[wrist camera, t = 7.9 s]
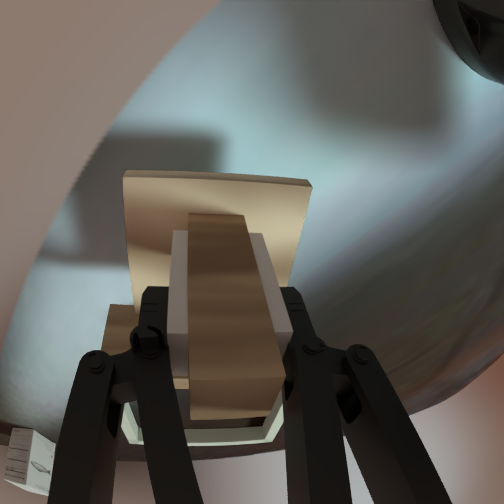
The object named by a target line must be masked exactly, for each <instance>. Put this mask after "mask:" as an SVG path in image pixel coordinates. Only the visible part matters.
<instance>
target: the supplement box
mask: <svg viewBox="0 0 504 504" xmlns="http://www.w3.org/2000/svg"><path fill="white" fill-rule="evenodd" d="M54 452H55V443H53V442H51V441H50V440H48V439H47V438H45V437H44V436H42V435H41V434H39V433H38V432H37V431H36V430H34V429H25V428H13V429H12V433H11V438H10V443H9V449H8V454H7V460H6V466H5V473H4V480H6V481H8V482H10V483H12V484H14V485H16V486H18V487H20V488H22V489H24V490H27V491H29V492H33V493H38V494H43V495H47V496H48V495H49V489H50V482H51V476H52V468H53V459H54Z"/></svg>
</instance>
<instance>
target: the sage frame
mask: <svg viewBox="0 0 504 504" xmlns="http://www.w3.org/2000/svg"><path fill="white" fill-rule="evenodd" d="M283 421H284V419H283V403H282V388H281V390H280V392H279V394H278V396H277V399H276V401H275V403H274V406H273V408H272V410H271V412H270V415H269V416H266V419H265V421H264V423H263V426H258V427H244V428H223V429H184V432H185V436H186V440H187V445H188V446H215V445H237V444H252V443H264V442H272V441H273V439H274V437H275V436H276V434H277V432H278V430H279V429H280V427H281V425H282V423H283ZM121 427H122V429H123V431H124V433H125V435H126V437H127V439H128V441H129V443H131V444H144V443H143V437H142V430H141V427H138V426H137V424H136V421H135V419H134V416H133V413H132V411H131V408H130V405H129V403H125V406H124V412H123V418H122V424H121Z"/></svg>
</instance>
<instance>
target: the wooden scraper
mask: <svg viewBox="0 0 504 504" xmlns="http://www.w3.org/2000/svg"><path fill="white" fill-rule="evenodd" d="M311 191H312V186H311V184H310V183H309V181H308V180H306V179H296V178H285V177H274V176H261V175H248V174H232V173H215V172H194V171H163V170H126V171H125V173H124V175H123V199H124V215H125V229H126V241H127V251H128V261H129V270H130V278H131V286H132V294H133V301H134V305H118V304H110V307H109V312H108V317H107V321H106V326H105V331H104V336H103V342H102V347H101V351H104V352H106V353H108V354H109V355H110V356H112V355H116V354H120V353H123V352H126V351H127V350H129V349H130V348H131V344H130V339H129V338H130V333H131V331H132V330H133V329H134V328H135V327H137V326H138V321H139V313H140V306H141V298H142V293H143V292H144V291H145V289H146V288H147V286H169V279H170V264H171V251H172V239H173V230H188V262H187V299H188V376H173V375H172V376H173V381H174V386H175V389H189V398H190V415H191V420H210V419H234V418H250V417H262V416H269V415H270V412H271V410H272V408H273V406H274V403H275V401H276V399H277V396H278V394H279V392H280V389H281V387H282V385H283V382H284V380H285V378H286V374H285V370H284V366H283V362H282V358H281V354H280V351H279V347H278V343H277V339H276V335H275V332H274V328H273V324H272V320H271V316H270V312H269V309H268V305H267V301H266V297H265V293H264V290H263V286H262V282H261V278H260V274H259V271H258V267H257V263H256V259H255V255H254V252H253V248H252V244H251V240H250V236H249V233H262V234H263V238H264V241H265V244H266V247H267V250H268V253H269V256H270V259H271V262H272V265H273V269H274V272H275V275H276V278H277V281H278V284H279V287H287V284H288V280H289V276H290V273H291V269H292V265H293V262H294V258H295V254H296V250H297V246H298V243H299V239H300V235H301V231H302V227H303V223H304V219H305V215H306V212H307V208H308V204H309V200H310V195H311Z"/></svg>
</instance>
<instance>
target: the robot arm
mask: <svg viewBox="0 0 504 504" xmlns="http://www.w3.org/2000/svg"><path fill="white" fill-rule="evenodd" d="M433 1H434V4H435V8H436V11H437V13H438V16H439V19H440V21H441V24H442V26H443V28H444V30H445V32H446V34H447V36H448V38H449V40H450V41H451V43H452V45H453V46H454V48H455V49H456V51H457V52H458V54H459V55H460V56H461V57H462V59H463V60H464V61H465V62H466V63H467V64H468V65H469V66H470V67H471V68H472V69H473V70H474V71H475V72H477V73H478V74H480V75H481V76H483V77H484V78H486V79H489V80H491V81H494V82H497V83H500V84H503V85H504V0H433ZM249 236H250V240H251V244H252V248H253V252H254V255H255V259H256V263H257V267H258V271H259V274H260V278H261V282H262V286H263V290H264V293H265V297H266V301H267V305H268V309H269V312H270V316H271V320H272V324H273V328H274V332H275V335H276V339H277V343H278V347H279V351H280V354H281V358H282V362H283V366H284V370H285V374H286V378H285V380H284V382H283V385H282V387H281V388H282V403H283V419H284V436H285V452H286V472H287V491H288V504H352V498H351V489H350V482H349V474H348V467H347V461H346V453H345V447H344V440H343V434H342V429H343V432H344V434H345V436H346V438H347V441H348V443H349V445H350V448H351V450H352V452H353V455H354V457H355V459H356V462H357V464H358V466H359V469H360V471H361V474H362V476H363V478H364V481H365V483H366V485H367V488H368V490H369V492H370V495H371V497H372V500H373V502H374V504H452V502H451V500H450V498H449V496H448V494H447V492H446V489H445V488H444V485H443V483H442V481H441V479H440V477H439V475H438V473H437V471H436V469H435V467H434V465H433V463H432V461H431V459H430V457H429V455H428V453H427V451H426V449H425V447H424V445H423V443H422V441H421V439H420V437H419V435H418V433H417V431H416V429H415V427H414V426H413V424H412V422H411V420H410V418H409V416H408V414H407V412H406V410H405V409H404V407H403V405H402V403H401V401H400V399H399V397H398V396H397V394H396V392H395V390H394V388H393V386H392V385H391V383H390V381H389V379H388V377H387V376H386V374H385V372H384V370H383V369H382V367H381V365H380V363H379V361H378V360H377V358H376V356H375V354H374V353H373V352H372V351H371V349H369V348H368V347H366V346H364V345H361V344H354V345H352V346H350V347H349V348H348V349H347V351H345V350H340V349H335V348H331V347H328V346H326V344H325V343H324V342H323V341H322V340H321V339H320V338H318V337H317V336H316V334H315V331H314V328H313V326H312V323H311V320H310V317H309V315H308V312H307V311H306V310H307V309H306V307H305V304H304V301H303V299H302V296H301V294H300V293H299V292H298V291H297V290H296V289H295V288H294V287H279V284H278V281H277V278H276V275H275V272H274V269H273V265H272V262H271V259H270V256H269V253H268V250H267V247H266V244H265V241H264V238H263V234H262V233H249ZM187 262H188V230H173V239H172V251H171V264H170V279H169V286H147V288H146V289H145V291H144V292H143V293H142V298H141V306H140V313H139V321H138V326H137V327H135V328H134V329H133V330H132V331H131V333H130V338H129V339H130V344H131V348H130V349H129V350H127V351H126V352H123V353H120V354H116V355H112V356H110V355H109V354H108V353H106V352H104V351H101V350H93V351H90V352H87V353H86V354H85V355H84V356H82V358H81V360H80V362H79V365H78V369H77V372H76V375H75V379H74V382H73V386H72V389H71V393H70V396H69V400H68V404H67V408H66V411H65V415H64V419H63V424H62V428H61V432H60V436H59V441H58V446H57V450H56V455H55V460H54V466H53V471H52V476H51V482H50V489H49V495H48V502H47V504H112V497H113V486H114V477H115V468H116V460H117V452H118V445H119V438H120V431H121V424H122V418H123V412H124V406H125V403H128V402H132V401H136V400H137V402H138V409H139V417H140V424H141V430H142V437H143V443H144V448H145V454H146V460H147V465H148V469H149V475H150V480H151V485H152V489H153V494H154V498H155V502H156V504H204V503H203V500H202V497H201V493H200V490H199V486H198V483H197V479H196V475H195V472H194V468H193V464H192V460H191V456H190V453H189V449H188V445H187V440H186V436H185V432H184V428H183V423H182V419H181V415H180V410H179V405H178V401H177V396H176V391H175V386H174V381H173V376H188V299H187ZM172 375H173V376H172ZM280 390H281V389H280ZM341 427H342V428H341Z"/></svg>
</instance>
